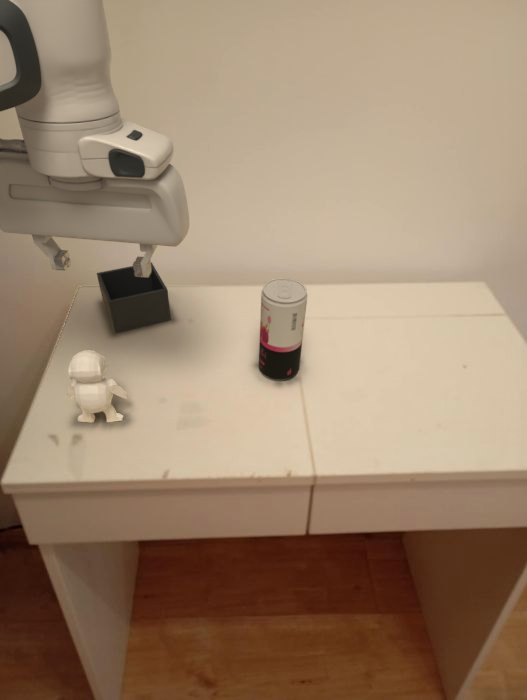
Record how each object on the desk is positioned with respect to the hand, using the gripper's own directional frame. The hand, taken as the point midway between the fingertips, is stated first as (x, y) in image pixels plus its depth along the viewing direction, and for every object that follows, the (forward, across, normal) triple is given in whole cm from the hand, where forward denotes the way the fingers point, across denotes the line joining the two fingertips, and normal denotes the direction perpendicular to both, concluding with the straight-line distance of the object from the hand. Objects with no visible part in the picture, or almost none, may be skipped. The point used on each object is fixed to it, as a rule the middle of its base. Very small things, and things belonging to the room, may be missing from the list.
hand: (102, 271), depth 53 cm
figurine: (+23, -4, -2) cm, 23 cm away
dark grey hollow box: (+23, -6, +24) cm, 34 cm away
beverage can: (+23, +21, +12) cm, 33 cm away
